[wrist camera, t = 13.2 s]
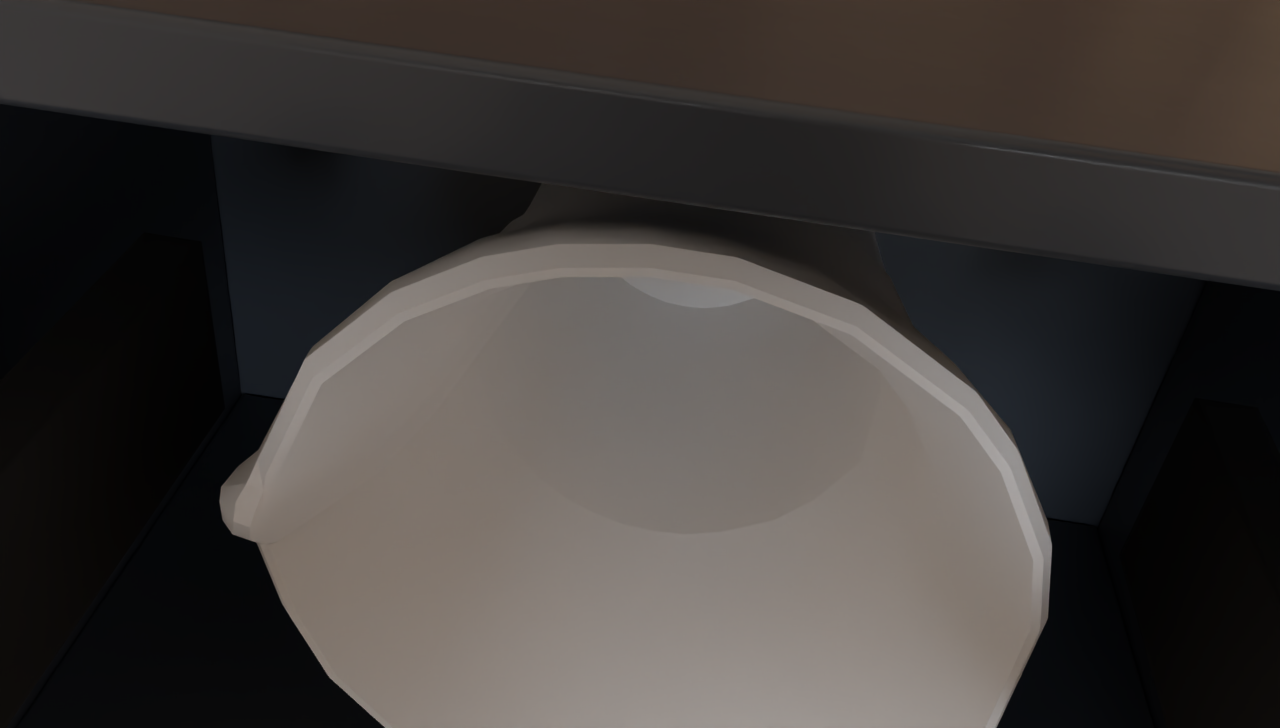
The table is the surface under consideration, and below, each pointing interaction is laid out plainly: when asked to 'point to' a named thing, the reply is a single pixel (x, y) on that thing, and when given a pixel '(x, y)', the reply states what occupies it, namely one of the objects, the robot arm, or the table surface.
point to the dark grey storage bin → (668, 171)
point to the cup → (649, 487)
